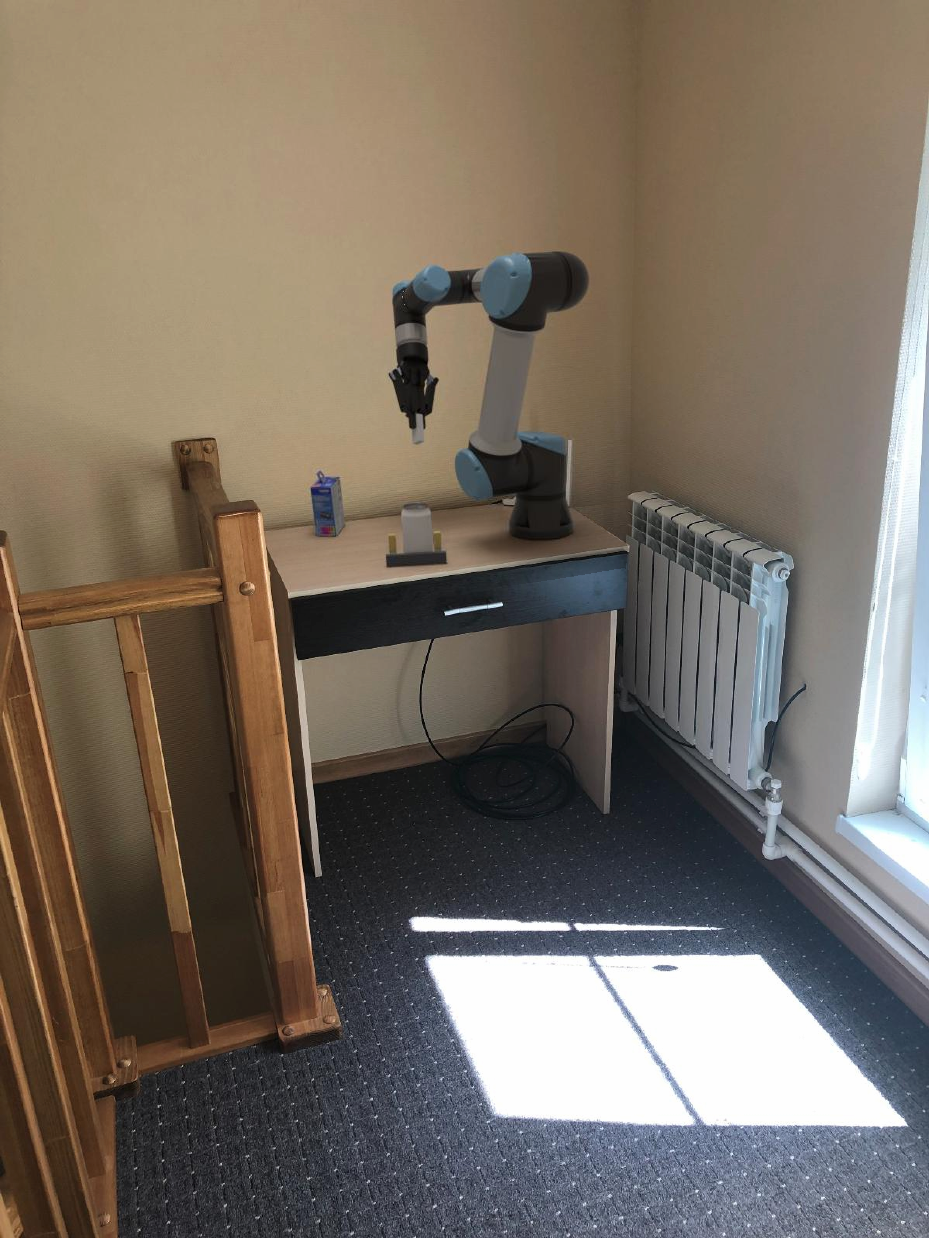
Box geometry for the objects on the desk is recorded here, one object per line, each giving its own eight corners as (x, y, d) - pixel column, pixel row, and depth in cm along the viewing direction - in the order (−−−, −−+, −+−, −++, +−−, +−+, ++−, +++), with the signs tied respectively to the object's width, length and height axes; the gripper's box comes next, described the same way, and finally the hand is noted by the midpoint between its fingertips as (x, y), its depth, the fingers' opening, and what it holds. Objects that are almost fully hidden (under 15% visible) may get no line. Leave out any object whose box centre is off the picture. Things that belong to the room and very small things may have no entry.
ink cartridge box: (323, 524, 253) (318, 467, 248) (345, 524, 252) (340, 466, 247) (314, 536, 244) (308, 477, 239) (337, 536, 243) (331, 476, 238)
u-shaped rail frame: (441, 537, 240) (440, 516, 238) (446, 563, 222) (445, 541, 220) (386, 540, 239) (384, 520, 237) (386, 567, 221) (385, 544, 219)
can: (438, 559, 225) (436, 506, 220) (413, 565, 221) (410, 511, 217) (423, 552, 230) (420, 500, 225) (398, 558, 226) (395, 505, 222)
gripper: (425, 358, 250) (432, 451, 246) (379, 348, 242) (386, 443, 238) (443, 346, 244) (450, 441, 240) (396, 335, 236) (403, 433, 232)
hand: (418, 442), depth 239 cm, fingers closed
